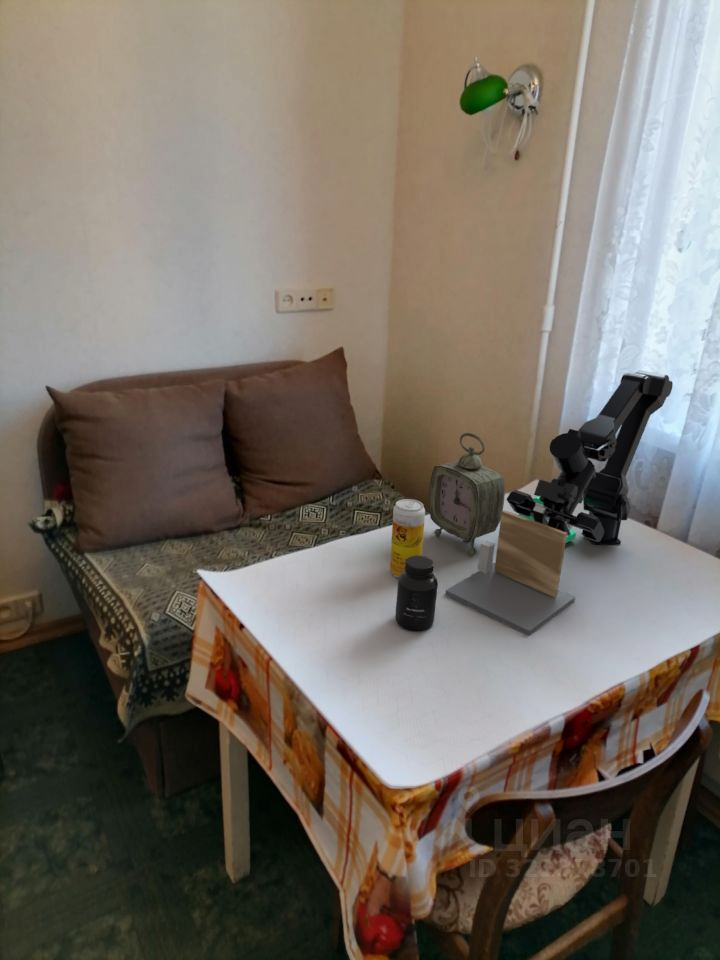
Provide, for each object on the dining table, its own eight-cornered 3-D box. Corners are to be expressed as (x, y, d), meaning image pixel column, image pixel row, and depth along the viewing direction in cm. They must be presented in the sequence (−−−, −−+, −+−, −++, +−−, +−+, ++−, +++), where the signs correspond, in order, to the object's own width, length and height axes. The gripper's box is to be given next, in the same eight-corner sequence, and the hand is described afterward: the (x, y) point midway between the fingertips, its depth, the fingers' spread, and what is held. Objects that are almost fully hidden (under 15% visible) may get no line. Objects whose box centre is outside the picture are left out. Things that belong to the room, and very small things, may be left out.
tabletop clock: (425, 534, 149) (434, 427, 140) (455, 525, 154) (465, 421, 145) (472, 561, 138) (484, 447, 129) (502, 550, 144) (516, 439, 134)
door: (497, 569, 133) (504, 510, 128) (557, 595, 124) (567, 532, 120) (494, 571, 132) (501, 511, 127) (554, 597, 124) (564, 534, 119)
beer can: (385, 576, 131) (389, 507, 126) (395, 563, 137) (399, 496, 131) (414, 583, 129) (420, 513, 124) (424, 569, 134) (429, 501, 129)
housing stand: (491, 566, 137) (495, 535, 134) (574, 601, 125) (579, 568, 122) (443, 593, 126) (446, 561, 123) (528, 635, 114) (534, 600, 112)
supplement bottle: (408, 637, 113) (412, 575, 108) (388, 616, 118) (391, 556, 114) (441, 627, 116) (447, 566, 111) (420, 607, 121) (425, 549, 117)
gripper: (517, 451, 131) (479, 517, 127) (608, 477, 119) (568, 552, 115) (533, 479, 139) (497, 542, 136) (619, 506, 127) (582, 576, 124)
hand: (533, 552), depth 127 cm, fingers closed
